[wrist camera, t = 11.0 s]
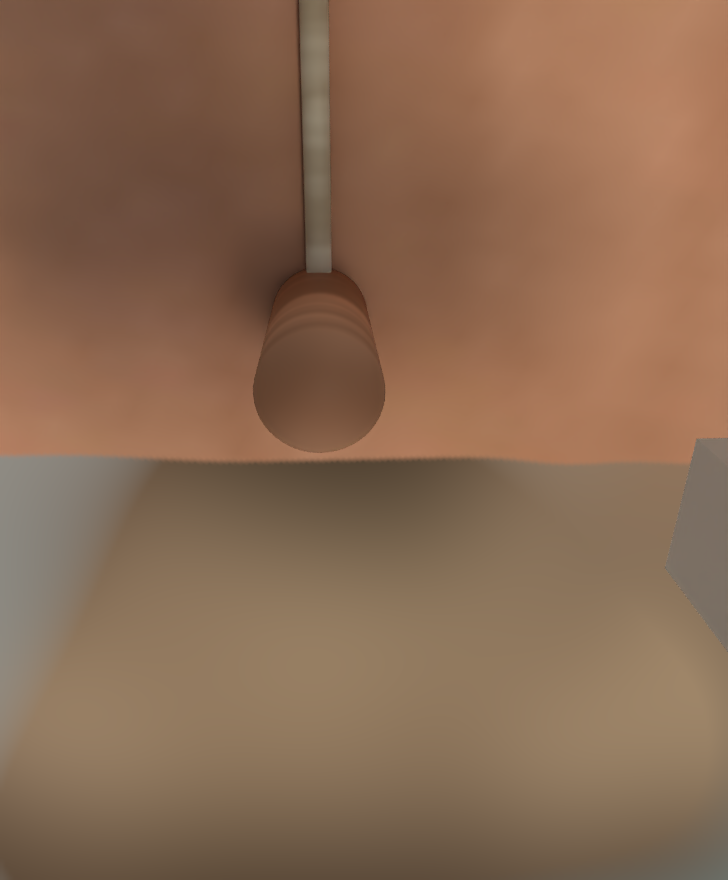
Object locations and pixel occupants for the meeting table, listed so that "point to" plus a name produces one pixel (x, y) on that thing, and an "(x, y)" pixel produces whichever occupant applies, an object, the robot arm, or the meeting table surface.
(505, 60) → the meeting table surface
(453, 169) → the meeting table surface
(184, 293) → the meeting table surface
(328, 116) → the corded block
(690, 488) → the robot arm
